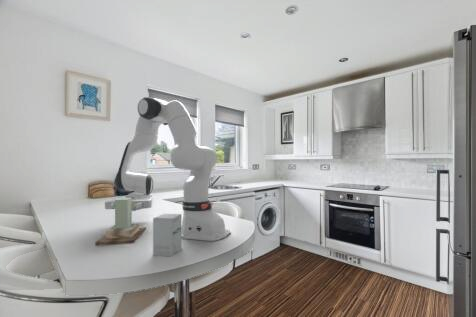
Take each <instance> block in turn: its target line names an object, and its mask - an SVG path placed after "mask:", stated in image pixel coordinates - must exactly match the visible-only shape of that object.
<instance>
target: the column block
mask: <svg viewBox="0 0 476 317" xmlns="http://www.w3.org/2000/svg"><path fill="white" fill-rule="evenodd" d="M115 199H116V200H115V209H114V225H115V229H120V228H128V227H130V226H131V225H132V224H133V222H132V221H133V220H132V218H133V217H132V216H133V214H132V213H133V211H132V198H125V197H119V198H115Z"/></svg>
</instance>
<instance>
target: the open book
mask: <svg viewBox="0 0 476 317" xmlns="http://www.w3.org/2000/svg"><path fill="white" fill-rule="evenodd" d="M145 231H147V227H143V226H142V227H140V223H132V225H131V226H130V227H128V228H120V229H115V224H114V225H113V226H112V227H110V228H108V229H107V230H105V235H104V236H102V237H101V238H100V239H98V240H97V241H95V243H94V244H95V246H98V245H102V246H103V245H117V244H132V243H136V241H137V240H138V239H139V238H140V236H142V235H143V234H144V233H145Z"/></svg>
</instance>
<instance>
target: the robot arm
mask: <svg viewBox="0 0 476 317" xmlns="http://www.w3.org/2000/svg"><path fill="white" fill-rule="evenodd" d="M137 113H138V114H139V115H138V118H137V122H136V125H135V132H134V136H133V138H132V139H131V141H128V142H127V144H126V145H125V147H124V150H123V154H122V157H121V159H120V164H119V167H118V170H117V173H116V175H115V178H114V181H113V182H114V187H115V188H117V190H118V191H122V192H123V191H125V192H126V191H127V192H128V191H131V193H128V194H127V195H126V196H125V197H124V198H132V212H136V211H138V210H142V209H143V210H144V209H151V208H153V195H152V194H151V193H152V192H153V189H154V180H153V178H152V176H151V175H150V174H149V173H139V172H138V173H137V172H130V170H129V169H130V166H131V163H132V160H133V157H134V156H135V155H136V154H140V153H144V152H147V151H151V150H153V149H154V148H155V147H156V145H157V142H158V135H159V127H160V126H161V125H164V126H168V128H169V130H170V133H171V135H172V138H173V142H174V148H173V149H172V151H171V153H170V161H171V164H172V166H173V167H174V168H176V169H178V170H183V171H190V172H189V174H188V177H187V179H186V180H185V181H184V182H183V201H182V206H181V207H182V210H183V215H182V220H181V226H182V239H185V240H198V241H205V242H214V241H219V240H221V239H224V238H227V237H228V236H229V235H230V234H231V230H230V229H228V228H226V224H225V220H224V218H223V217H221V215H219V214H218V213H217V212H216V211H215V210H214V209H213V207H212V206H214V202H211V201H210V199H209V187H210V186H209V183H210V178H211V174H212V171H213V168H214V167H215V165H216V164H217V162H218V154H217V152H216V151H215V150H214V149H212V148H210V147H208V146H205V145H204V146H203V145H202V146H200V145H198V144H197V142H196V138H195V137H196V136H197V134H198V133H197V132H198V131H197V129H196V126H195V124H194V122H193V120H192V118H191V116H190V114H189V112H188V110H187V108H186V107H185V105H184V104H183V103H182V102H180V101H179V100H171V101H169V102H167V101H166V100H163V99H159V98H154V97H151V96H149V97H147V96H145V97H142V98H141V99H140V100H139V102H138V103H137ZM116 199H117V198H115V199H109V200H106V201H105V202H104V209H105V210H115V200H116ZM229 233H230V234H229ZM228 234H229V235H228ZM227 235H228V236H227Z"/></svg>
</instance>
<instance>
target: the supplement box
mask: <svg viewBox="0 0 476 317" xmlns="http://www.w3.org/2000/svg"><path fill="white" fill-rule="evenodd" d="M182 239H183V238H182V213H162V214H161V215H160V214H159V215H158V216H155V217H153V218H152V255H153V256H164V257H173V256H174V255H175V254H176V253H177V252H178V251H180V250H181V249H183V248H182V246H183V245H182Z"/></svg>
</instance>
